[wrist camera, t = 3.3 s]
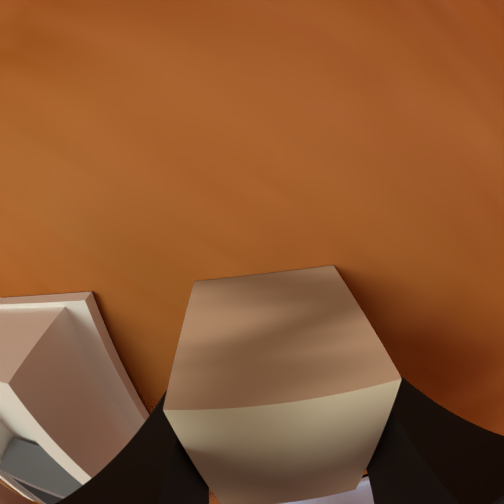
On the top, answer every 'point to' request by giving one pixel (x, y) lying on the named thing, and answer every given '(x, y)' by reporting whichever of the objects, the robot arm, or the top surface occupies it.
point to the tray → (37, 472)
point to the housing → (64, 384)
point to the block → (279, 386)
